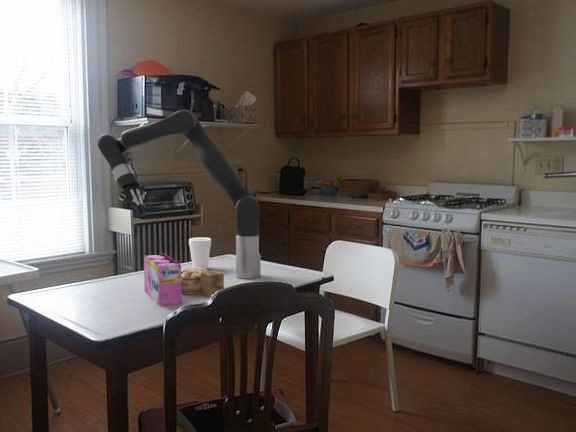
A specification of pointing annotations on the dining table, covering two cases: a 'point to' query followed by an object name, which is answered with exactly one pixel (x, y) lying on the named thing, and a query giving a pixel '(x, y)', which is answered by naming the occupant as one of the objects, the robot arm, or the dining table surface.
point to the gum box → (162, 279)
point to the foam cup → (200, 251)
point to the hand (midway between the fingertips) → (143, 214)
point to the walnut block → (211, 282)
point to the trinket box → (191, 280)
